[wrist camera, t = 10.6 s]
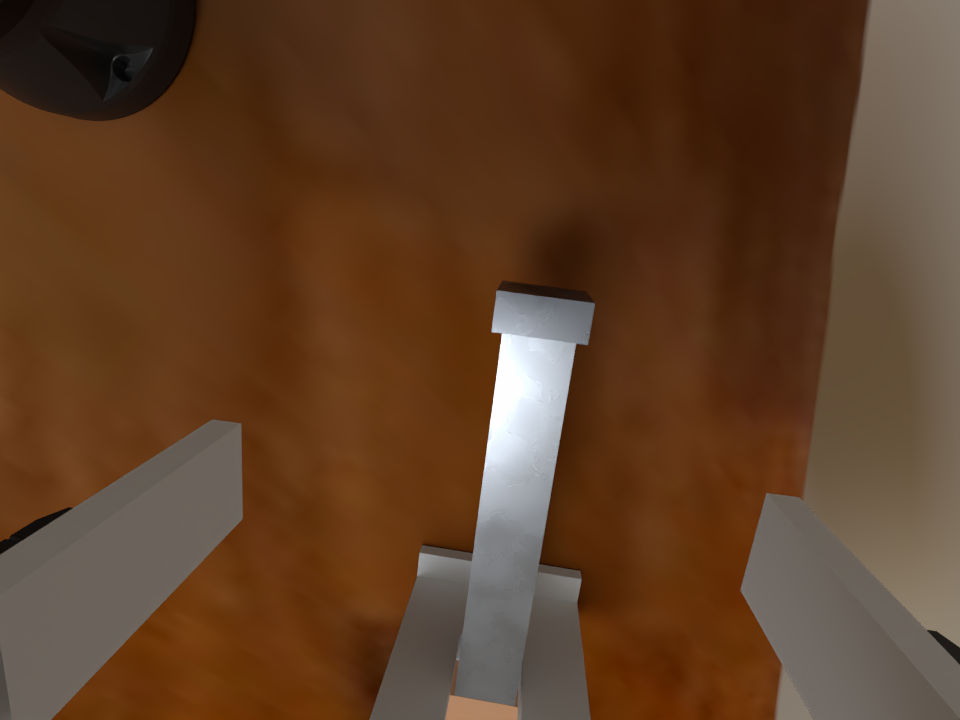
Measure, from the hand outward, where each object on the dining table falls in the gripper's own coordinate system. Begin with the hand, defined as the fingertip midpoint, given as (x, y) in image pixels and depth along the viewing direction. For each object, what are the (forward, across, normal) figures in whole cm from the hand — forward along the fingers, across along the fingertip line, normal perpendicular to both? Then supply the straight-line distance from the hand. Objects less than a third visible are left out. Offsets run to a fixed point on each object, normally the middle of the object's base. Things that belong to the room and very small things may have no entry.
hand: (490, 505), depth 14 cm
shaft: (+18, +1, -9) cm, 20 cm away
